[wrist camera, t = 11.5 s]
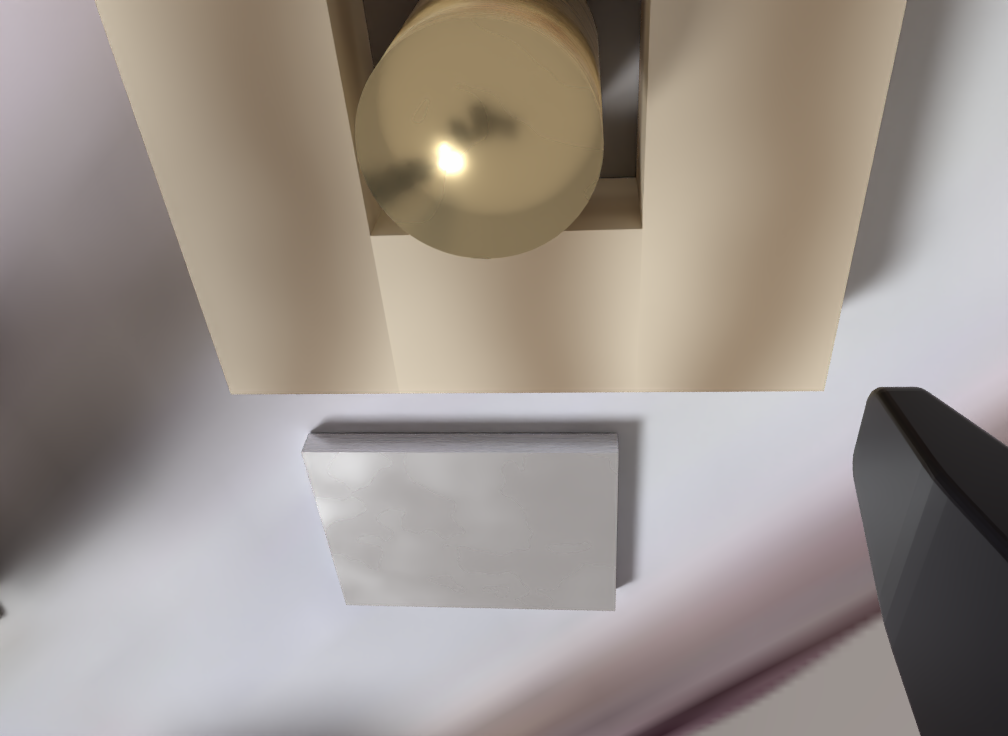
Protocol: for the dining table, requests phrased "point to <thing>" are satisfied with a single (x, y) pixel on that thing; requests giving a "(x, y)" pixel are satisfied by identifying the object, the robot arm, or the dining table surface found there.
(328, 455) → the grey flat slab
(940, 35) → the dining table surface
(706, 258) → the hole deck
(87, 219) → the dining table surface
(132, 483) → the dining table surface
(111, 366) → the dining table surface
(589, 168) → the gold cylinder
